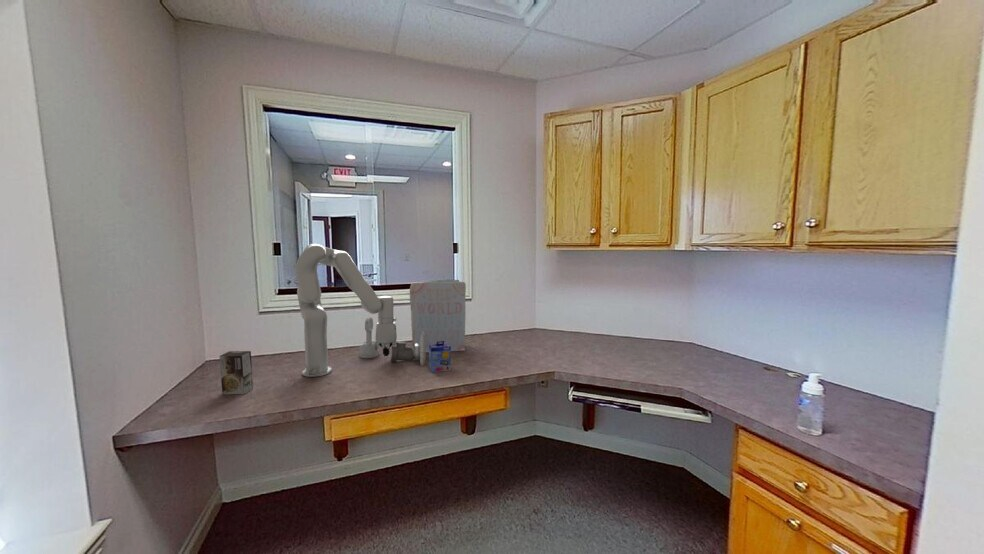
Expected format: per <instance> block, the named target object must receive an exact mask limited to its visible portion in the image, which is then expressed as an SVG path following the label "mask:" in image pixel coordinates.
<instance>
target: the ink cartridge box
mask: <svg viewBox="0 0 984 554" xmlns="http://www.w3.org/2000/svg"><path fill="white" fill-rule="evenodd" d="M440 342H442V343H440ZM438 343H440V344H438ZM451 352H452V351H451V346H450V345H449V344H448V343H445V344H444V341H439V342H437V344H433V345H429V352H428V356H429V357H428V369H429V372H430V373H438V372H447V371H451V356H452V355H451V354H452V353H451Z"/></svg>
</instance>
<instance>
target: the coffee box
mask: <svg viewBox="0 0 984 554" xmlns="http://www.w3.org/2000/svg"><path fill="white" fill-rule="evenodd" d="M218 357H219V366H220V380H221V394H222V395H245V394H247V393H248V392H250V391H252V390H253V389H254V383H253V381H254V380H253V369H252V368H253V366H252V365H253V364H252V351H251V350H241V351H239V350H235V351H234V350H233V351H232V350H231V351H230V350H229V351H227V352H224V353H223V354H220V355H219V356H218Z"/></svg>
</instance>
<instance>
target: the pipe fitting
mask: <svg viewBox="0 0 984 554" xmlns="http://www.w3.org/2000/svg"><path fill="white" fill-rule="evenodd" d="M412 347H413V346H407V342H405V341H397V342H396V344H395V345H392V346H391V349H390V353H389V355H390V362H391V363H395V362H397V361H407V362H408V361H410V362H412V361H414V350H413V348H412Z"/></svg>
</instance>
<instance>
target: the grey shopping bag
mask: <svg viewBox="0 0 984 554" xmlns="http://www.w3.org/2000/svg"><path fill="white" fill-rule="evenodd" d="M466 288H467V285H466V282H465V281H460V279H446V280H445V279H443V280H441V279H439V280H431V281H420V282H419V281H415V282H412V283H411V284H410V287H409V307H410V319H411V320H410V321H411V323H410V324H411V325H410V326H411V336H412V337H411V338H412V346H411V347H412V349H413V350H414V344H415V343H420V336H421V334H422V331H425V344H426V353H429V345H433V344H437V342H439V341H444V344H445V343H448V344H449V345H450V346H451V352H457V351H458V352H459V351H466V348H465V344H466V343H465V342H466V292H467V290H466ZM440 343H442V342H440ZM440 343H438V344H440Z"/></svg>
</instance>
